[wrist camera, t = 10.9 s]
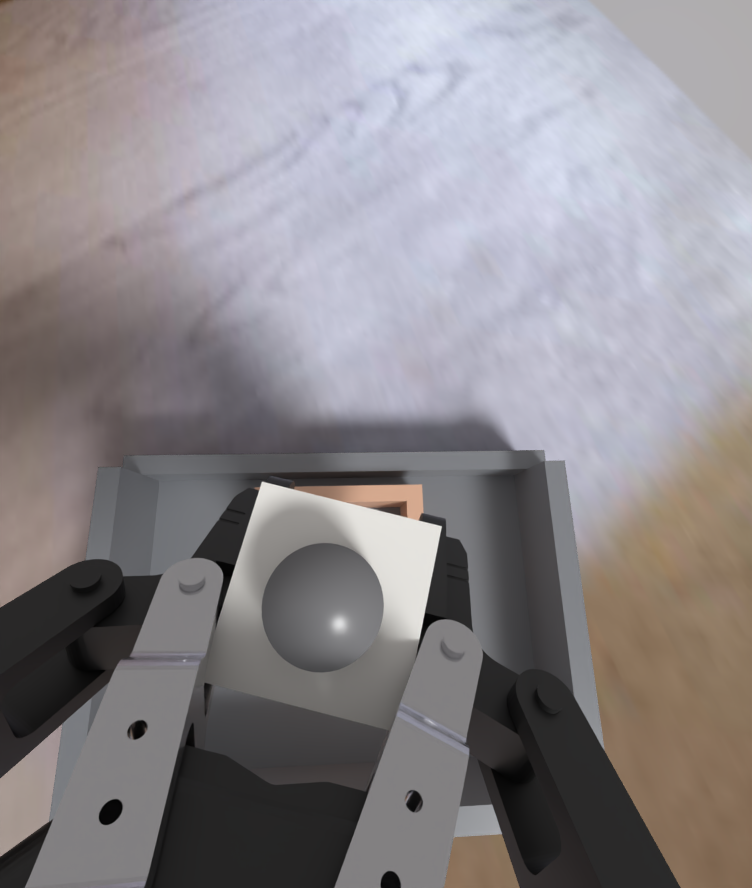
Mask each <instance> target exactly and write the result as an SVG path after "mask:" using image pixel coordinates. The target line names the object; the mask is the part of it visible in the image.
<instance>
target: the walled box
mask: <svg viewBox="0 0 752 888" xmlns="http://www.w3.org/2000/svg"><path fill="white" fill-rule="evenodd" d="M269 476H274V477H278V478H283V479H287V480H291V481H294V483H295V487H294V490H298V491H302V492H306V493H310V494H314V495H318V496H322V497H326V498H330V499H334V500H338V501H342V502H346V503H350V504H354V505H358V506H362V507H366V508H370V509H374V510H378V511H382V512H386V513H390V514H394V515H398V516H402V517H406V518H410V519H414V520H418V521H419V518H420V515H421V513H425V514H429V515H433V516H437V517H441V518H445V519H446V536H447V537H451V538H455V539H459V540H460V542H461V543H462V545H463V547H464V549H465V551H466V553H467V559H468V573H469V582H468V583H469V588H470V602H471V616H472V628H473V633H474V634H475V635H476V637H477V638H478V640H479V642H480V644H481V647H482V649H483V651H484V652H485V653H486V654H487V655H488V656H490V657H491V658H492V659H493V660H495V661H496V662H498V663H499V664H501V665H503V666H505V667H506V668H508V669H510V670H512V671H513V672H515V673H517V674H519V675H520V674H521V673H522V672H524V671H526V670H529V669H540V670H543V671H546V672H549V673H551V674H552V675H554V676H555V677H557V678H558V679H560V680H561V681H562V682H563V683H564V684H565V685H566V686H567V687H568V688H569V690H570V691H571V692H572V694H573V696H574V697H575V699H576V701H577V703H578V704H579V706H580V708H581V710H582V712H583V713H584V715H585V717H586V719H587V721H588V722H589V724H590V726H591V728H592V730H593V731H594V733H595V735H596V737H597V739H598V740H599V742H600V744H601V746H602V748H603V749H604V744H603V736H602V729H601V722H600V715H599V707H598V700H597V693H596V685H595V678H594V671H593V664H592V656H591V649H590V642H589V635H588V627H587V620H586V613H585V606H584V598H583V591H582V584H581V576H580V569H579V562H578V555H577V547H576V540H575V533H574V526H573V518H572V511H571V504H570V496H569V489H568V482H567V475H566V467H565V461H545V453H544V450H520V451H442V452H364V453H286V454H208V455H130V456H124V459H123V467H98V473H97V480H96V487H95V495H94V502H93V509H92V516H91V523H90V531H89V538H88V545H87V552H86V559H85V560H91V559H104V560H109V561H112V562H114V563H116V564H117V565H118V566H119V567H120V568H121V570H122V573H123V576H147V575H159V574H164V572H165V571H166V570H167V569H168V568H169V567H171V566H172V565H174V564H176V563H177V562H180V561H182V560H186V559H190V558H191V557H192V556H193V554H194V553H195V551H196V550H197V549H198V547H199V546H200V544H201V543H202V542H203V540H204V539H205V537H206V536H207V535H208V533H209V532H210V530H211V529H212V528H213V526H214V525H215V523H216V522H217V521H219V518H220V516H221V515H222V514H223V512H224V511H226V508H227V507H228V505H229V504H230V502H231V501H232V500H233V498H234V497H235V496H236V495H238V494H239V493H241V492H243V491H244V490H246V489H247V488H252V489H256V490H260V487H261V483H262V482H266V481H267V479H268V478H269ZM108 684H109V683H108ZM108 684H107V685H105V686H104V687H103V688H102V689H101V690H100V691H99V692H98V693H96V694H95V695H94V696H93V697H92V698H91V699H90V700H88V701H87V702H86V703H85V704H84V705H83V706H82V707H81V708H79V709H78V710H77V711H76V712H75V713H74V714H73V715H71V716H70V717H69V718H68V719H67V720H66V721H65V722H64V723H63V725H62V732H61V739H60V746H59V753H58V760H57V768H56V775H55V782H54V789H53V796H52V804H51V811H50V818H49V821H51V820H52V819H54V816H55V814H56V811H57V809H58V807H59V804H60V802H61V799H62V797H63V794H64V792H65V789H66V787H67V785H68V782H69V780H70V777H71V775H72V772H73V770H74V767H75V765H76V763H77V760H78V758H79V755H80V753H81V750H82V748H83V745H84V743H85V741H86V738H87V736H88V733H89V731H90V728H91V726H92V723H93V721H94V719H95V716H96V714H97V711H98V709H99V706H100V704H101V701H102V699H103V697H104V694H105V692H106V689H107V687H108ZM386 732H387V730H386V729H382V728H378V727H374V726H370V725H367V724H363V723H359V722H355V721H351V720H347V719H343V718H340V717H336V716H332V715H328V714H324V713H320V712H316V711H313V710H309V709H305V708H301V707H297V706H293V705H289V704H286V703H282V702H278V701H274V700H270V699H266V698H262V697H259V696H255V695H251V694H247V693H243V692H239V691H235V690H232V689H228V688H224V687H220V686H216V685H215V688H214V693H213V698H212V703H211V708H210V713H209V718H208V724H207V730H206V739H205V748H204V750H207V751H211V752H215V753H219V754H223V755H226V756H228V757H229V758H231V759H233V760H234V761H236V762H237V763H239V764H240V765H242V766H243V767H245V768H246V769H248V770H249V771H251V772H252V773H254V774H256V775H257V776H259V777H260V778H262V779H263V780H265V781H266V782H268V783H270V784H274V785H282V784H298V783H313V782H331V783H335V784H339V785H343V786H346V787H350V788H354V789H358V790H362V791H364V790H365V788H366V785H367V783H368V780H369V778H370V775H371V772H372V770H373V767H374V764H375V762H376V759H377V756H378V754H379V751H380V748H381V745H382V743H383V740H384V737H385V735H386ZM495 834H502V832H501V829H500V826H499V823H498V820H497V817H496V814H495V811H494V808H493V805H492V802H491V799H490V796H489V793H488V790H487V787H486V784H485V781H484V778H483V775H482V772H481V769H480V766H479V763H478V760H477V758H475V757H474V756H472V755H471V754H469V759H468V765H467V770H466V775H465V781H464V786H463V791H462V796H461V801H460V806H459V812H458V817H457V822H456V827H455V832H454V837H463V836H479V835H495Z"/></svg>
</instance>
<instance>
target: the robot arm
mask: <svg viewBox="0 0 752 888" xmlns="http://www.w3.org/2000/svg"><path fill="white" fill-rule="evenodd" d="M266 483H270V484H274V485H278V486H282V487H286V488H290V489H294V487H295V483H294V481H291V480H287V479H283V478H278V477H274V476H269V478H268V479H267V481H266ZM258 493H259V490H256V489H252V488H247V489H246V490H244V491H243V492H241V493H239V494H238V495H236V496H235V497H234V498H233V500H232V501H231V502H230V504H229V505H228V507H227V508H226V511H224V512H223V514H222V515H221V516H220V518H219V521H217V522H216V523H215V525H214V526H213V528H212V529H211V530H210V532H209V533H208V535H207V536H206V537H205V539H204V540H203V542H202V543H201V544H200V546H199V547H198V549H197V550H196V551H195V553H194V554H193V556H192V557H191V558H190V559H186V560H182V561H180V562H177V563H176V564H174V565H172V566H171V567H169V568H168V569H167V570H166V571H165V572H164V574H159V575H147V576H123V573H122V570H121V568H120V567H119V566H118V565H117V564H116V563H114V562H112V561H109V560H104V559H91V560H85V561H82V562H78V563H76V564H73V565H71V566H69V567H67V568H66V569H64V570H62V571H61V572H59V573H57V574H56V575H54V576H52V577H51V578H49V579H47V580H46V581H44V582H42V583H41V584H39V585H37V586H36V587H34V588H32V589H31V590H29V591H27V592H26V593H24V594H22V595H21V596H19V597H17V598H16V599H14V600H12V601H11V602H9V603H7V604H6V605H4V606H2V607H1V608H0V778H1V777H2V776H4V775H5V774H6V773H7V772H8V771H9V770H10V769H11V768H13V767H14V766H15V765H16V764H17V763H18V762H19V761H21V760H22V759H23V758H24V757H25V756H26V755H27V754H28V753H30V752H31V751H32V750H33V749H34V748H35V747H36V746H37V745H39V744H40V743H41V742H42V741H43V740H44V739H45V738H47V737H48V736H49V735H50V734H51V733H52V732H53V731H54V730H56V729H57V728H58V727H59V726H60V725H61V724H62V723H64V722H65V721H66V720H67V719H68V718H69V717H70V716H71V715H73V714H74V713H75V712H76V711H77V710H78V709H79V708H81V707H82V706H83V705H84V704H85V703H86V702H87V701H88V700H90V699H91V698H92V697H93V696H94V695H95V694H96V693H98V692H99V691H100V690H101V689H102V688H103V687H104V686H105V685H107V684H108V683H109V684H108V687H107V689H106V692H105V694H104V697H103V699H102V701H101V704H100V706H99V709H98V711H97V714H96V716H95V719H94V721H93V723H92V726H91V728H90V731H89V733H88V736H87V738H86V741H85V743H84V745H83V748H82V750H81V753H80V755H79V758H78V760H77V763H76V765H75V767H74V770H73V772H72V775H71V777H70V780H69V782H68V785H67V787H66V789H65V792H64V794H63V797H62V799H61V802H60V804H59V807H58V809H57V811H56V814H55V816H54V819H52V820H51V821H49V822H48V823H47V824H45V825H44V826H42V827H41V828H40V829H38V830H37V831H35V832H34V833H33V834H31V835H30V836H29V837H27V838H26V839H24V840H23V841H22V842H20V843H19V844H17V845H16V846H15V847H13V848H12V849H11V850H9V851H8V852H6V853H5V854H4V855H2V856H1V857H0V888H444V884H445V879H446V874H447V869H448V863H449V858H450V853H451V848H452V843H453V838H454V832H455V827H456V822H457V817H458V812H459V806H460V801H461V796H462V791H463V786H464V781H465V775H466V770H467V765H468V759H469V754H471V755H472V756H474V757H475V758H477V760H478V763H479V766H480V769H481V772H482V775H483V778H484V781H485V784H486V787H487V790H488V793H489V796H490V799H491V802H492V805H493V808H494V811H495V814H496V817H497V820H498V823H499V826H500V829H501V832H502V835H503V838H504V841H505V844H506V847H507V850H508V853H509V856H510V859H511V862H512V865H513V868H514V871H515V874H516V877H517V880H518V883H519V886H520V888H680V886H679V884H678V882H677V881H676V879H675V877H674V875H673V873H672V872H671V870H670V868H669V866H668V864H667V863H666V861H665V859H664V857H663V855H662V854H661V852H660V850H659V848H658V846H657V845H656V843H655V841H654V839H653V837H652V836H651V834H650V832H649V830H648V828H647V827H646V825H645V823H644V821H643V819H642V818H641V816H640V814H639V812H638V810H637V809H636V807H635V805H634V803H633V801H632V800H631V798H630V796H629V794H628V792H627V791H626V789H625V787H624V785H623V783H622V782H621V780H620V778H619V776H618V774H617V773H616V771H615V769H614V767H613V765H612V764H611V762H610V760H609V758H608V756H607V755H606V753H605V751H604V749H603V748H602V746H601V744H600V742H599V740H598V739H597V737H596V735H595V733H594V731H593V730H592V728H591V726H590V724H589V722H588V721H587V719H586V717H585V715H584V713H583V712H582V710H581V708H580V706H579V704H578V703H577V701H576V699H575V697H574V696H573V694H572V692H571V691H570V690H569V688H568V687H567V686H566V685H565V684H564V683H563V682H562V681H561V680H560V679H558V678H557V677H555V676H554V675H552V674H551V673H549V672H546V671H543V670H540V669H529V670H526V671H524V672H522V673H521V674H520V675H519V674H517V673H515V672H513V671H512V670H510V669H508V668H506V667H505V666H503V665H501V664H499V663H498V662H496V661H495V660H493V659H492V658H491V657H490V656H488V655H487V654H486V653H485V652H484V651H483V649H482V647H481V644H480V642H479V640H478V638H477V637H476V635H475V634H474V633H473V628H472V616H471V602H470V588H469V583H468V582H469V573H468V559H467V553H466V551H465V549H464V547H463V545H462V543H461V542H460V540H459V539H455V538H451V537H447V536H446V519H445V518H441V517H437V516H433V515H429V514H425V513H421V515H420V518H419V521H422V522H426V523H430V524H434V525H438V526H442V528H441V533H440V538H439V543H438V548H437V553H436V558H435V563H434V568H433V573H432V578H431V583H430V588H429V594H428V599H427V604H426V609H425V614H424V619H423V624H422V629H421V634H420V639H419V644H418V649H417V654H416V659H415V662H414V665H413V667H412V670H411V673H410V675H409V678H408V681H407V684H406V686H405V689H404V692H403V695H402V697H401V700H400V703H399V706H398V708H397V711H396V714H395V717H394V719H393V722H392V725H391V727H390V730H387V732H386V735H385V737H384V740H383V743H382V745H381V748H380V751H379V754H378V756H377V759H376V762H375V764H374V767H373V770H372V772H371V775H370V778H369V780H368V783H367V785H366V788H365V790H364V791H362V790H358V789H354V788H350V787H346V786H343V785H339V784H335V783H331V782H313V783H298V784H282V785H274V784H270V783H268V782H266V781H265V780H263V779H262V778H260V777H259V776H257V775H256V774H254V773H252V772H251V771H249V770H248V769H246V768H245V767H243V766H242V765H240V764H239V763H237V762H236V761H234V760H233V759H231V758H229V757H228V756H226V755H223V754H219V753H215V752H211V751H207V750H204V748H205V739H206V730H207V724H208V718H209V713H210V708H211V703H212V698H213V693H214V688H215V685H212V684H208V683H205V674H206V668H207V663H208V659H209V655H210V650H211V646H212V641H213V637H214V632H215V629H216V626H217V622H218V619H219V616H220V613H221V610H222V607H223V604H224V600H225V597H226V594H227V591H228V588H229V585H230V581H231V578H232V575H233V572H234V569H235V566H236V562H237V559H238V556H239V553H240V550H241V547H242V543H243V540H244V537H245V534H246V531H247V528H248V524H249V521H250V518H251V515H252V512H253V509H254V506H255V502H256V499H257V496H258Z"/></svg>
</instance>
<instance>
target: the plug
mask: <svg viewBox="0 0 752 888" xmlns="http://www.w3.org/2000/svg"><path fill="white" fill-rule="evenodd" d="M441 528H442V526H438V525H434V524H430V523H426V522H422V521H418V520H414V519H410V518H406V517H402V516H398V515H394V514H390V513H386V512H382V511H378V510H374V509H370V508H366V507H362V506H358V505H354V504H350V503H346V502H342V501H338V500H334V499H330V498H326V497H322V496H318V495H314V494H310V493H306V492H302V491H298V490H294V489H290V488H286V487H282V486H278V485H274V484H270V483H266V482H262V483H261V487H260V490H259V493H258V496H257V499H256V502H255V506H254V509H253V512H252V515H251V518H250V521H249V524H248V528H247V531H246V534H245V537H244V540H243V543H242V547H241V550H240V553H239V556H238V559H237V562H236V566H235V569H234V572H233V575H232V578H231V581H230V585H229V588H228V591H227V594H226V597H225V600H224V604H223V607H222V610H221V613H220V616H219V619H218V622H217V626H216V629H215V632H214V637H213V641H212V646H211V650H210V655H209V659H208V663H207V668H206V674H205V683H208V684H212V685H216V686H220V687H224V688H228V689H232V690H235V691H239V692H243V693H247V694H251V695H255V696H259V697H262V698H266V699H270V700H274V701H278V702H282V703H286V704H289V705H293V706H297V707H301V708H305V709H309V710H313V711H316V712H320V713H324V714H328V715H332V716H336V717H340V718H343V719H347V720H351V721H355V722H359V723H363V724H367V725H370V726H374V727H378V728H382V729H386V730H390V727H391V725H392V722H393V719H394V717H395V714H396V711H397V708H398V706H399V703H400V700H401V697H402V695H403V692H404V689H405V686H406V684H407V681H408V678H409V675H410V673H411V670H412V667H413V665H414V662H415V659H416V654H417V649H418V644H419V639H420V634H421V629H422V624H423V619H424V614H425V609H426V604H427V599H428V594H429V588H430V583H431V578H432V573H433V568H434V563H435V558H436V553H437V548H438V543H439V538H440V533H441Z"/></svg>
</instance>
